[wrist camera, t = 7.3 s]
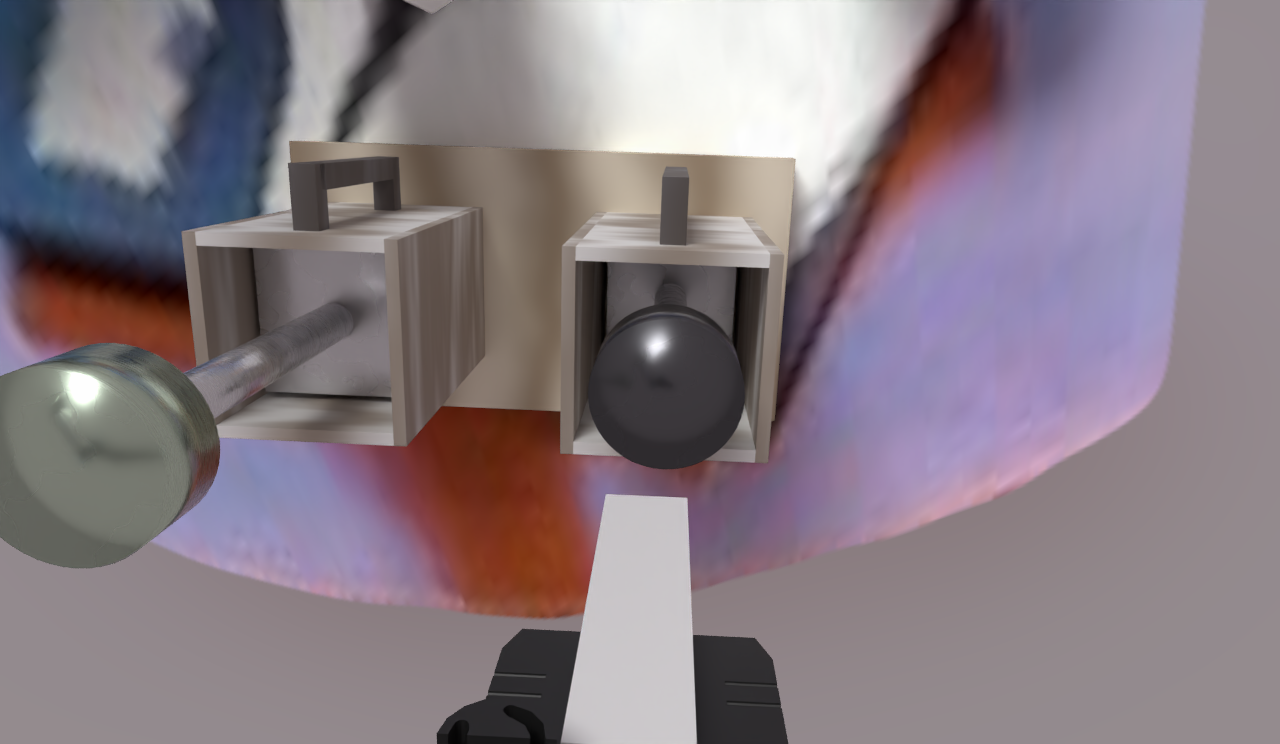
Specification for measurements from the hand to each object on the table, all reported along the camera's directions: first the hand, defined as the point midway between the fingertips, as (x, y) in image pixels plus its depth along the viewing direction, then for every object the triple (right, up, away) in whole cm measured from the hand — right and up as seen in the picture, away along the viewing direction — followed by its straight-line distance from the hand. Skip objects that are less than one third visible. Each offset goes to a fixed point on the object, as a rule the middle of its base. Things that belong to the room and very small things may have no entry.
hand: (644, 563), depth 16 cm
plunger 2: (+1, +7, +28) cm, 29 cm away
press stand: (-5, +9, +31) cm, 33 cm away
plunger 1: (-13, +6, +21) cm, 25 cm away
